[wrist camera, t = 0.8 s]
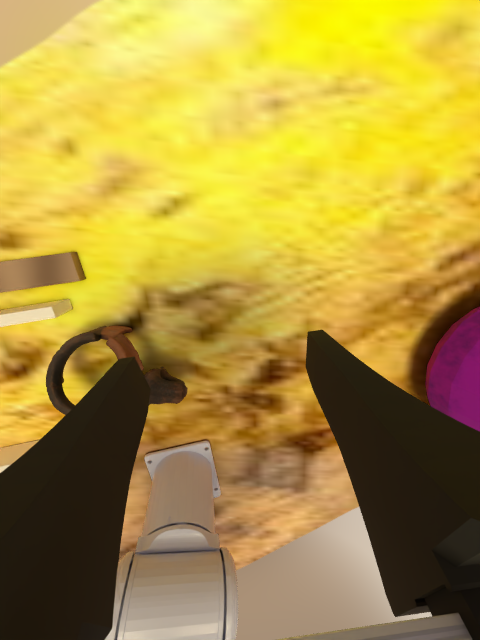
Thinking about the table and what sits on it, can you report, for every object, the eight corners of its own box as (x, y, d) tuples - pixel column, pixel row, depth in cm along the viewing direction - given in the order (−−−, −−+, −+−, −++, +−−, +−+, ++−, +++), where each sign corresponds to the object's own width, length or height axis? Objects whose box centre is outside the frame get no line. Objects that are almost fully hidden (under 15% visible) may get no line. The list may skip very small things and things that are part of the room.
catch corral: (118, 430, 29) (109, 450, 26) (-30, 462, 27) (-57, 487, 25) (69, 298, 24) (51, 306, 21) (-116, 328, 22) (-163, 341, 19)
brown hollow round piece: (90, 410, 28) (23, 427, 20) (106, 328, 30) (49, 314, 22) (192, 422, 27) (165, 446, 19) (203, 337, 29) (181, 326, 21)
